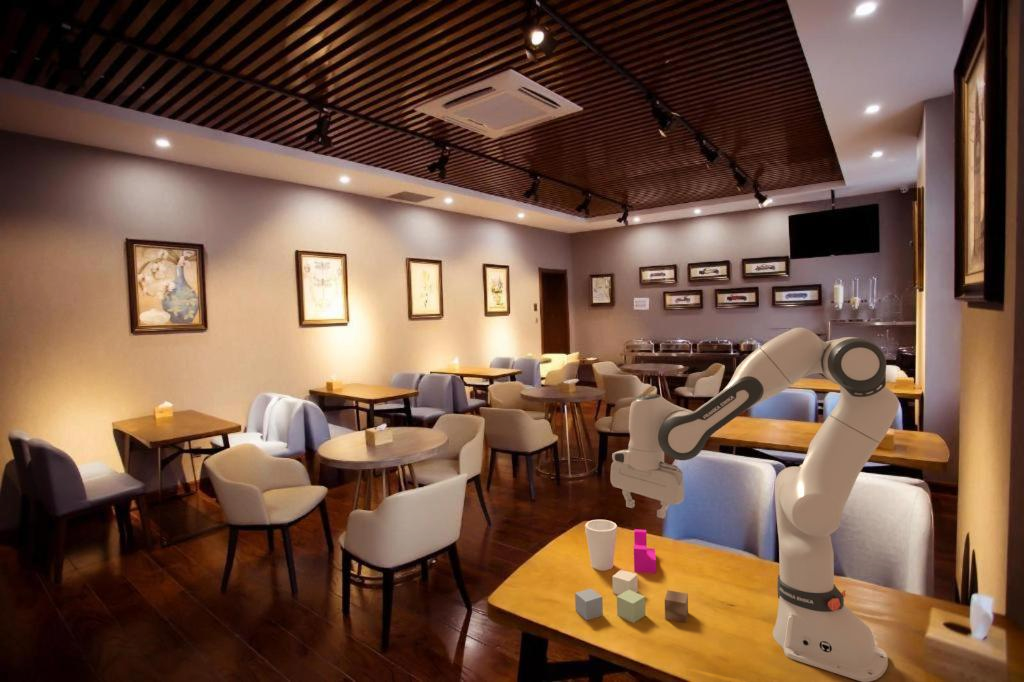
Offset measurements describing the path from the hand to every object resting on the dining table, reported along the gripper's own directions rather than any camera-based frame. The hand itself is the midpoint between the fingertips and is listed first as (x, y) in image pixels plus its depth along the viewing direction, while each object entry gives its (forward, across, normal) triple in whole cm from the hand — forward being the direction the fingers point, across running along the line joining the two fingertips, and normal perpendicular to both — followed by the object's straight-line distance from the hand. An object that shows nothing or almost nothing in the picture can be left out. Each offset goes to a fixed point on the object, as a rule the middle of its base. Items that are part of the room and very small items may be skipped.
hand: (645, 512), depth 138 cm
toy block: (+27, +16, -23) cm, 39 cm away
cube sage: (+26, +1, +4) cm, 26 cm away
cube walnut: (+26, -7, -4) cm, 27 cm away
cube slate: (+27, +9, +11) cm, 30 cm away
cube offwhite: (+26, +9, -4) cm, 28 cm away
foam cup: (+27, +24, -11) cm, 37 cm away
